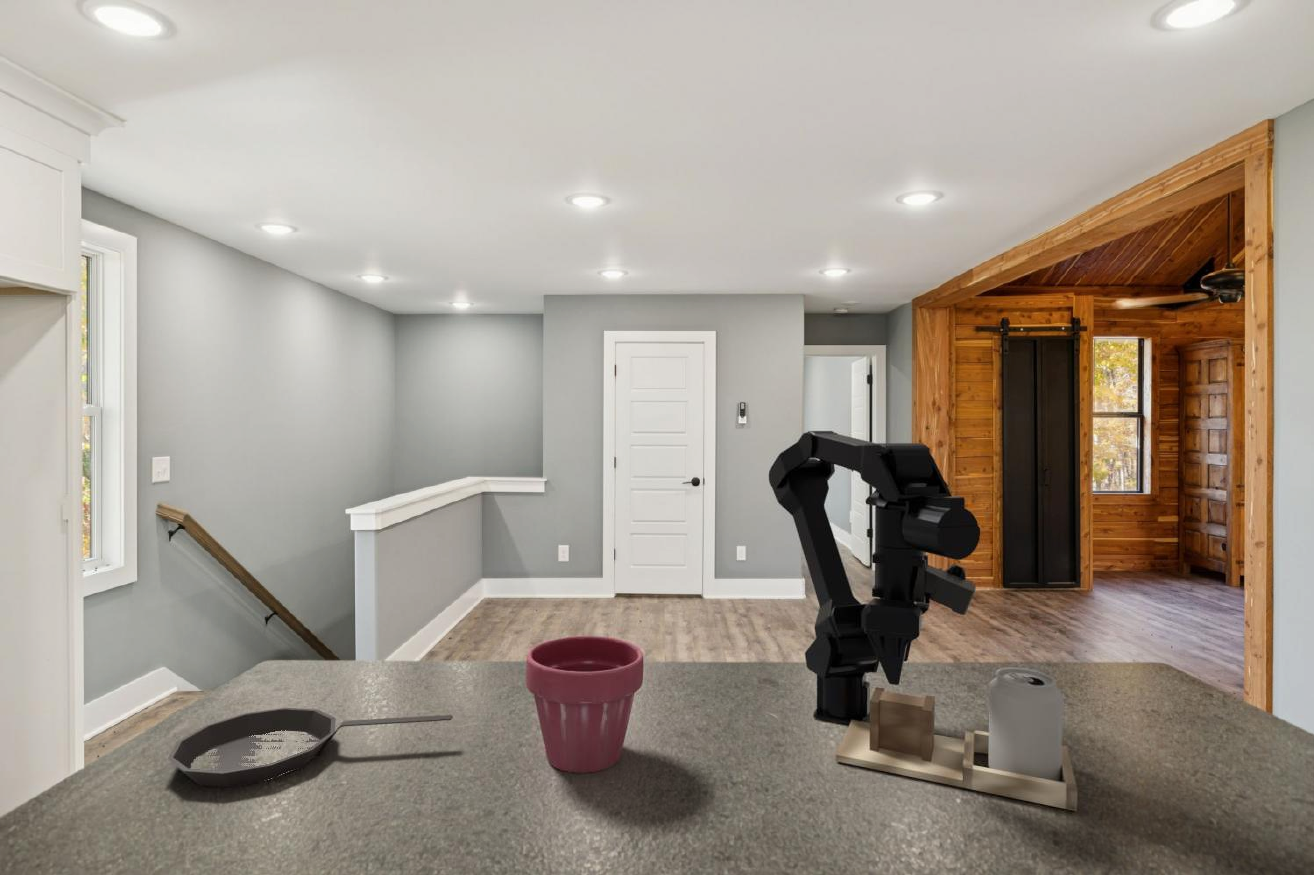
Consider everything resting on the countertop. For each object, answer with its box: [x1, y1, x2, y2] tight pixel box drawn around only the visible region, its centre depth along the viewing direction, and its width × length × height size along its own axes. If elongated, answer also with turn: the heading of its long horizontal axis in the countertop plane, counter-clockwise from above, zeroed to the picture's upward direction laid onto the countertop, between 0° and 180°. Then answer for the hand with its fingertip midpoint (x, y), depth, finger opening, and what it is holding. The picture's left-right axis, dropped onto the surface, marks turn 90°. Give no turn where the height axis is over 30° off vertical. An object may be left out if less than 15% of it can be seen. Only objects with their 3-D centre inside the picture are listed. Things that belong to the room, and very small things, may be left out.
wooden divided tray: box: [835, 687, 1078, 812], centre depth 83 cm, size 25×11×7 cm, turn 65°
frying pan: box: [167, 707, 454, 788], centre depth 86 cm, size 18×32×4 cm, turn 98°
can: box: [987, 666, 1064, 782], centre depth 80 cm, size 8×8×12 cm
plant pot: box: [525, 635, 644, 774], centre depth 86 cm, size 14×14×13 cm
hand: (898, 671), depth 86 cm, fingers open, 9 cm apart
